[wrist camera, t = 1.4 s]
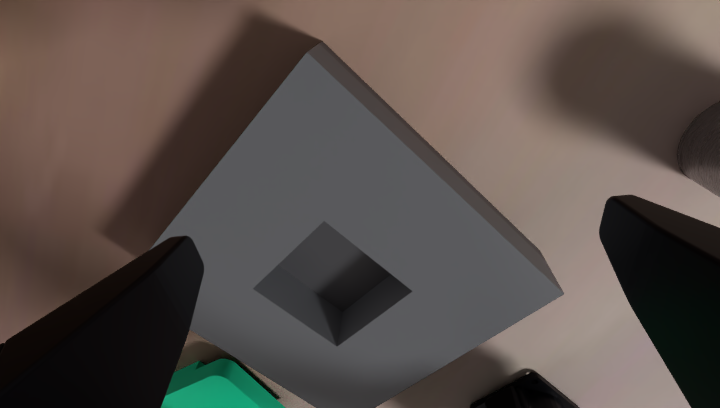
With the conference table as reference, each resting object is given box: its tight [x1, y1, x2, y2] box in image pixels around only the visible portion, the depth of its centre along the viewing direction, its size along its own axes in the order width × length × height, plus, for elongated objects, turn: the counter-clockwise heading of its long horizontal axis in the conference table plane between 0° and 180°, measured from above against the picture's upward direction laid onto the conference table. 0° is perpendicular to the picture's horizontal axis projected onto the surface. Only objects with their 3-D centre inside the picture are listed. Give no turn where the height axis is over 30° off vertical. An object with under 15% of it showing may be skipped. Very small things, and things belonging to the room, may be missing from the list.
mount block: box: [151, 41, 564, 408], centre depth 24 cm, size 18×18×4 cm
